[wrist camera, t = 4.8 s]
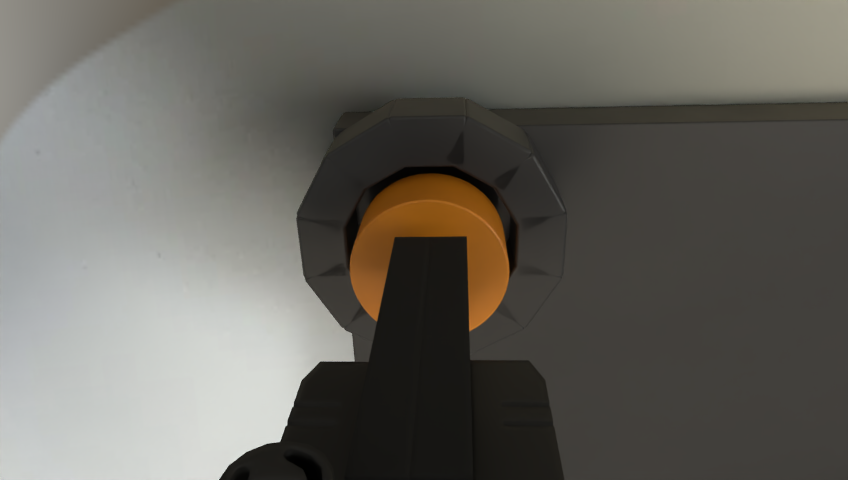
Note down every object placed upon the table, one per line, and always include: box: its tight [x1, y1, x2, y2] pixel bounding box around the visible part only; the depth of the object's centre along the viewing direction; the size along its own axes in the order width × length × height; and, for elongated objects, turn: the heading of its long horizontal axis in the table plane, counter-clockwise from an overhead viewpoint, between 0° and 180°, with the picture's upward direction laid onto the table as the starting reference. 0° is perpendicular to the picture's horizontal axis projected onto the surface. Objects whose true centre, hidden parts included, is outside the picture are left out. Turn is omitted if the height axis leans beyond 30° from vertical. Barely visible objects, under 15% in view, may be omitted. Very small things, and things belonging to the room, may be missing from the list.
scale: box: [296, 97, 848, 480], centre depth 19 cm, size 17×14×4 cm
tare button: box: [350, 173, 509, 331], centre depth 15 cm, size 4×4×2 cm
